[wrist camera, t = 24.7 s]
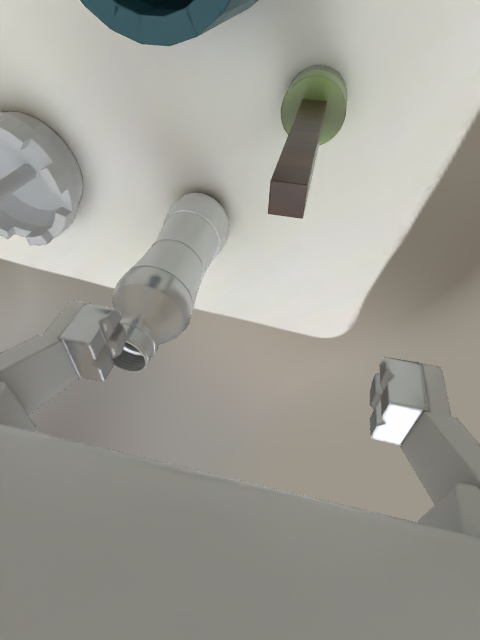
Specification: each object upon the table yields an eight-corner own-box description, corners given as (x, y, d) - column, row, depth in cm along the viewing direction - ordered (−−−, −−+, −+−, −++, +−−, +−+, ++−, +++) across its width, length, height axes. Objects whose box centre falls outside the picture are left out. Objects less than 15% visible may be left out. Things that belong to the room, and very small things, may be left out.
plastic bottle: (226, 182, 38) (147, 321, 24) (239, 241, 42) (178, 388, 28) (167, 187, 39) (61, 319, 25) (185, 243, 44) (103, 382, 30)
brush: (290, 62, 30) (240, 144, 17) (353, 67, 29) (347, 156, 17) (284, 128, 33) (238, 235, 21) (340, 134, 32) (327, 248, 20)
